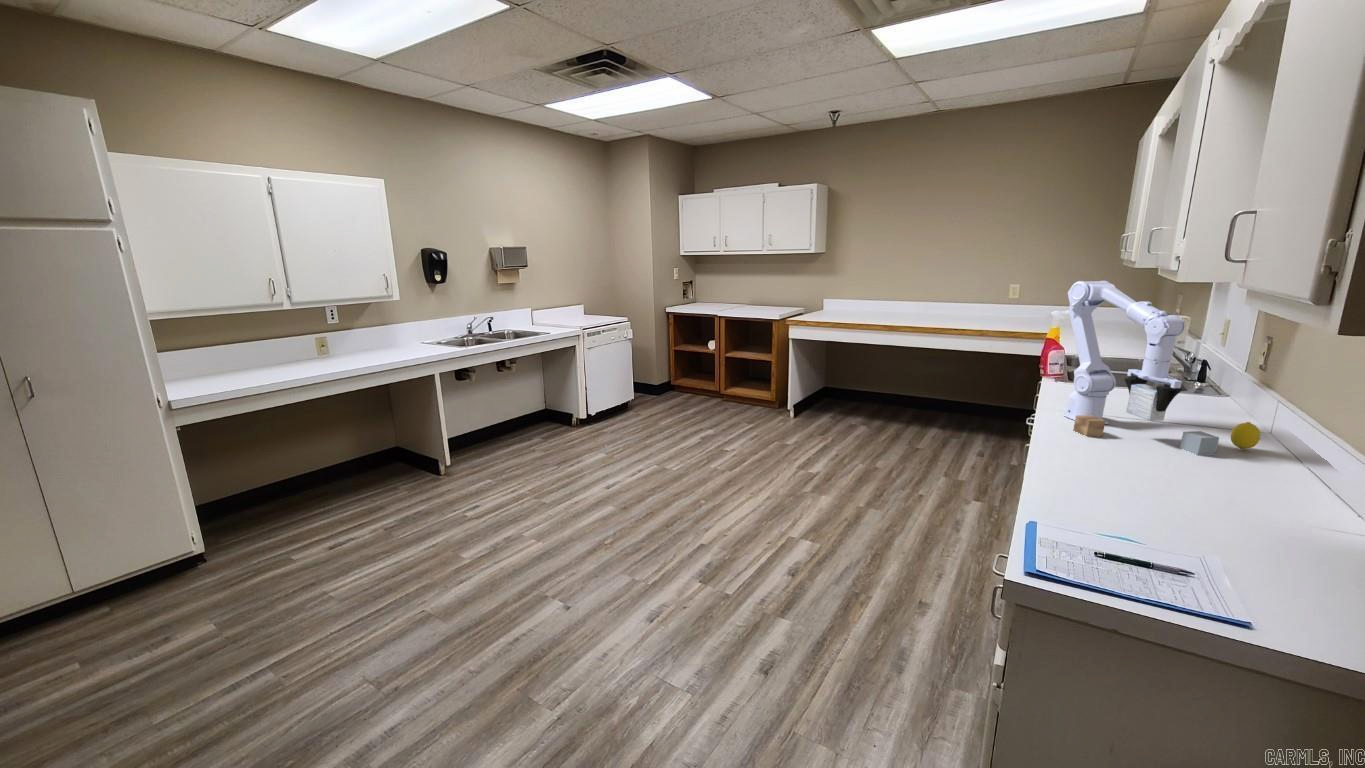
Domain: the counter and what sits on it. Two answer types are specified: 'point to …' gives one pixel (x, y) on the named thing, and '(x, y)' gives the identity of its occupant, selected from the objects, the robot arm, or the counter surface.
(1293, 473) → the counter surface
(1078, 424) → the walnut block
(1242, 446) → the lemon
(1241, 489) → the counter surface
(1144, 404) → the medicine box
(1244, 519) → the counter surface
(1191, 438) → the slate block
